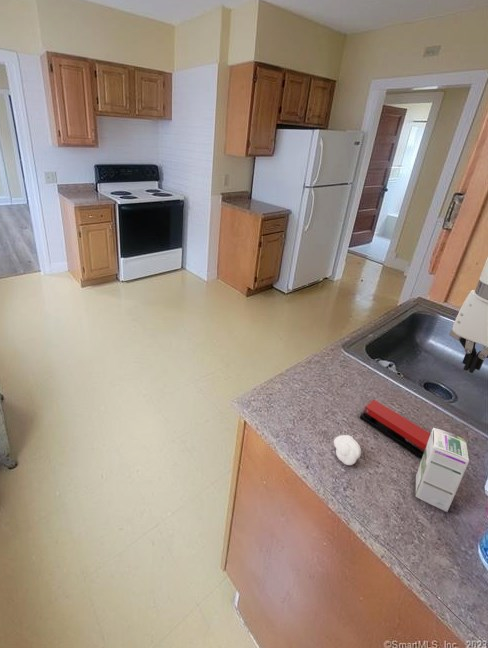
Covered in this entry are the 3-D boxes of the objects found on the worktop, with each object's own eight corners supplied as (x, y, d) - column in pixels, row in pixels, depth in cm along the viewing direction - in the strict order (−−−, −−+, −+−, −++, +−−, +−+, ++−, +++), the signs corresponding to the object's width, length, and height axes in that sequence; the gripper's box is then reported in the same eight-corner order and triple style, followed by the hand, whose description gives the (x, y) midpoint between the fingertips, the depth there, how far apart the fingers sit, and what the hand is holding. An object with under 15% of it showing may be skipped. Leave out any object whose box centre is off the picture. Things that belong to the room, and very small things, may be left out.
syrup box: (448, 513, 64) (472, 461, 58) (413, 497, 67) (433, 446, 61) (446, 489, 68) (468, 439, 63) (413, 474, 71) (432, 425, 66)
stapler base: (434, 451, 77) (437, 445, 76) (426, 463, 74) (429, 456, 73) (368, 409, 88) (370, 403, 88) (359, 418, 86) (361, 412, 85)
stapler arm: (435, 443, 76) (437, 437, 75) (427, 453, 73) (430, 447, 73) (371, 404, 87) (373, 398, 86) (363, 411, 84) (365, 406, 84)
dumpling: (364, 466, 73) (366, 457, 71) (342, 471, 73) (344, 462, 71) (348, 436, 79) (350, 427, 77) (328, 441, 79) (329, 432, 76)
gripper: (557, 302, 60) (519, 381, 66) (461, 276, 71) (436, 346, 77) (550, 314, 55) (510, 397, 62) (449, 284, 66) (424, 358, 73)
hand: (469, 369), depth 70 cm, fingers closed
